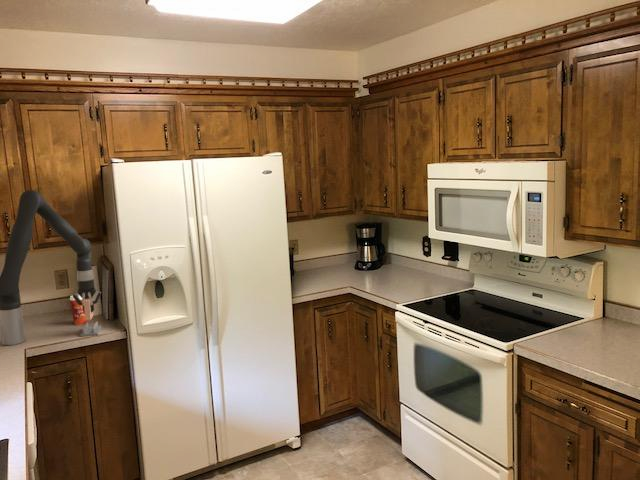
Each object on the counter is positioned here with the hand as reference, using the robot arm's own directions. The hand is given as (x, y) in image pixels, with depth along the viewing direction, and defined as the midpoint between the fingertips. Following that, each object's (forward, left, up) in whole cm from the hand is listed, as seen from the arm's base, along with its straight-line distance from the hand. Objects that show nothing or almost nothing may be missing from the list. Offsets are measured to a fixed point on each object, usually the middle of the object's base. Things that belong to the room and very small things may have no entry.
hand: (89, 312), depth 268 cm
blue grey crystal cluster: (0, 0, -10) cm, 10 cm away
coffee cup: (-8, +19, -11) cm, 23 cm away
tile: (0, 0, -3) cm, 3 cm away
